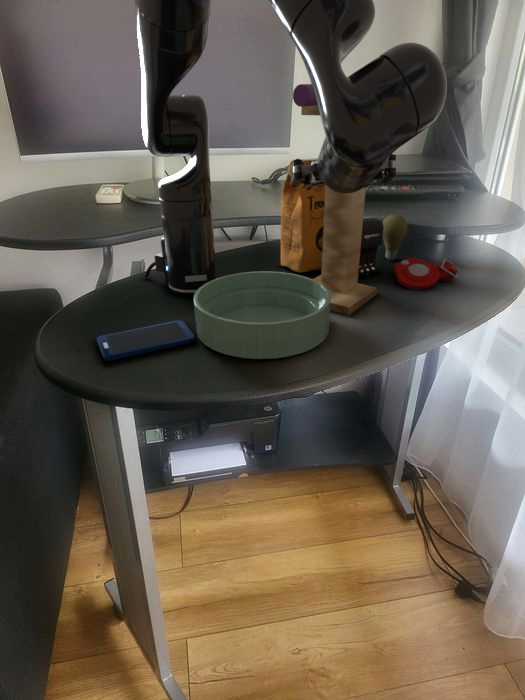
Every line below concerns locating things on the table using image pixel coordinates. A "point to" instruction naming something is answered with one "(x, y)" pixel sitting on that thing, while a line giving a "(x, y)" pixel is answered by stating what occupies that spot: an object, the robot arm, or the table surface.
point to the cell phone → (144, 340)
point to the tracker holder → (423, 273)
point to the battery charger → (370, 245)
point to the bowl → (262, 314)
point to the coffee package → (302, 226)
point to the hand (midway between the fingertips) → (335, 182)
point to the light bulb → (393, 234)
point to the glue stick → (304, 95)
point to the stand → (342, 246)
